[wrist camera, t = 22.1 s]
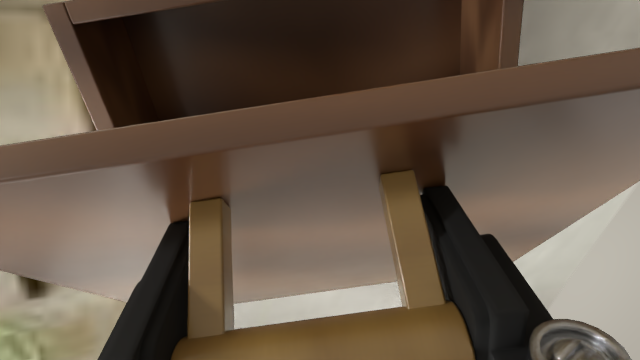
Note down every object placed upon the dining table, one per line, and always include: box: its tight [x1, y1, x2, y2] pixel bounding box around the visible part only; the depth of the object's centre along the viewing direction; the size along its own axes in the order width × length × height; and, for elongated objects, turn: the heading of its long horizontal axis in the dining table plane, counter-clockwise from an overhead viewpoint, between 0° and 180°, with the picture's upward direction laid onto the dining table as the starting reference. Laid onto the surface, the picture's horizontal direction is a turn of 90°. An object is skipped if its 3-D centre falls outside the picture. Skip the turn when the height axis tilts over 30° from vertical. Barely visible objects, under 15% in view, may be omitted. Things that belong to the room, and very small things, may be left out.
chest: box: [42, 0, 524, 131], centre depth 20 cm, size 15×18×5 cm
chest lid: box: [0, 48, 640, 360], centre depth 13 cm, size 15×18×5 cm
